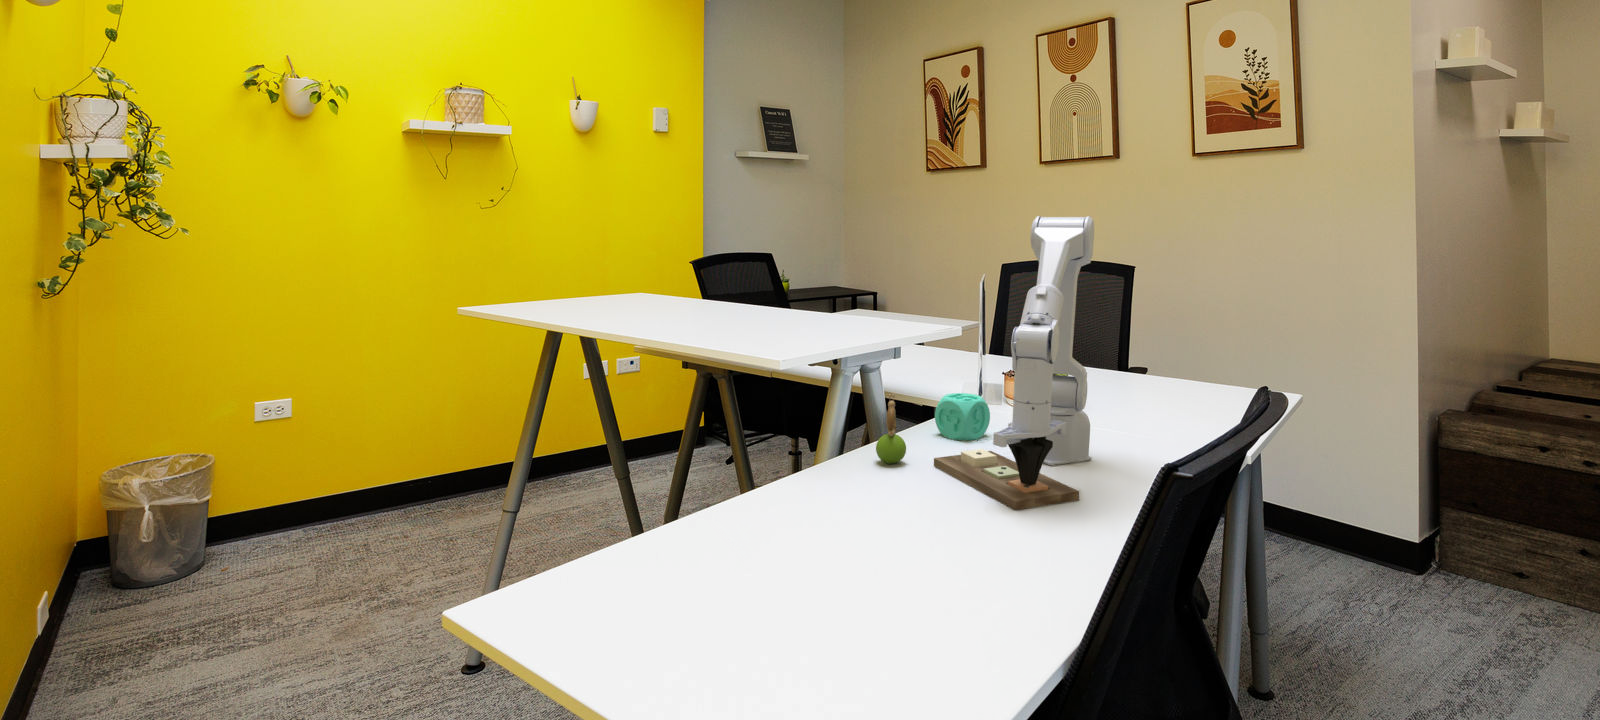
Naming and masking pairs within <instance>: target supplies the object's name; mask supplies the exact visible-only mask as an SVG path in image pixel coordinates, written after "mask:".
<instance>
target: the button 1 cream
mask: <svg viewBox="0 0 1600 720" xmlns="http://www.w3.org/2000/svg"><path fill="white" fill-rule="evenodd" d="M987 451H988V450H985V449H983V448H981V449H973V450H971V449H970V450H966V451H965V450H964V451H960V455H961V461H962V462H964V463H966V464H968V465H970V466H972V467H974V468H975V467H983V466H991V465H996V462H997V456H996V455H994V454H992V453H990V452H987Z"/></svg>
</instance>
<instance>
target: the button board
mask: <svg viewBox="0 0 1600 720" xmlns="http://www.w3.org/2000/svg"><path fill="white" fill-rule="evenodd" d="M986 451H987V452H990V453H992V454H994V455H996V456H997V462H996V465H991V466H983V467H975V468H974V467H972V466H970V465H968V464H966V463H964V462H962V461H961V454H956V455H955V454H954V455H948V456H939V457H933V467H934V466H935V468H936V469H938V470H940V471H942V472H944V473H946V474H947V475H949V476H950V477H951V476H952V477H953V478H955V479H957V480H958V481H961V482H963V483H964V484H966V485H968V486H969V487H972V488H973V489H975V490H976V491H979V492H981V493H983V494H984V495H986V496H987V497H990V498H992V499H994V500H995V501H997V502H999V503H1000V504H1003V505H1004V506H1006V507H1009V508H1010V509H1011V510H1013V511H1020V510H1027V509H1031V508H1033V509H1034V508H1038V507H1039V508H1040V507H1045V506H1051V505H1057V504H1065V503H1071V502H1077V501H1080V490H1078V489H1076V488H1073V487H1071V486H1069V485H1066V484H1065V483H1063V482H1060V481H1058V480H1056V479H1054V478H1051V477H1049V476H1046V475H1045V474H1042V473H1041V472H1039V475H1038V479H1037V481H1039V482H1041V483H1043V484H1045V485H1047V486H1048V490H1041V491H1035V492H1028V493H1024V492H1022V491H1020V490H1018V489H1016V488H1014V487H1012V486H1010V485H1008V481H1012V480H1019V479H1020V477H1014V478H1007V479H1000V480H998V479H996V478H994V477H992V476H990V475H988V474H986V473H984V472H983V470H984V468H992V467H999V466H1007V467H1009V468H1011V469H1014V470H1016V471H1018V467H1017V464H1016V461H1015V460H1014V461H1013V460H1012V459H1010V458H1008V457H1006V456H1003V455H1001V454H999V453H996V452H994V451H992V450H986Z"/></svg>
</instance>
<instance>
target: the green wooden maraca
mask: <svg viewBox="0 0 1600 720" xmlns="http://www.w3.org/2000/svg"><path fill="white" fill-rule="evenodd" d="M887 395H888V396H887V397H889V398H891V397H892V398H893V399H892V400H889V401H888V403H887V406H888V407H887V408H888V409H887V412H886V429H887V433H886V434H884V435H882V436H880V437H879V439H878V440H877V441H876V444H875V445H876V446H875V452H876V455H877V457H878V458H879V459H880V460H881V461H882V462H884V463H885V464H889V465H892V464H897V463H899V462H901V461H902V459H904V457H905V455H906V453H907V445H906V442H905V440H904V439H903V437H901V436H900V434H899V435H898V434H896V430H897V420H896V419H897V417H896V416H897V415H896V409H895V407H896V402H895V400H894V398H895V397H896V395H895V394H894V393H893V394H891V393H890V394H887Z"/></svg>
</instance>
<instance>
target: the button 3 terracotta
mask: <svg viewBox="0 0 1600 720" xmlns="http://www.w3.org/2000/svg"><path fill="white" fill-rule="evenodd" d="M1008 485H1010V486H1012V487H1014V488H1016V489H1018V490H1020V491H1022V492H1024V493H1028V492H1035V491H1041V490H1048V486H1047V485H1045V484H1043V483H1041V482H1039V481H1037V482H1036V484H1035V485H1031V486H1029V485H1026V484H1024V483H1021V481H1020V479H1019V480H1012V481H1008Z"/></svg>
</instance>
